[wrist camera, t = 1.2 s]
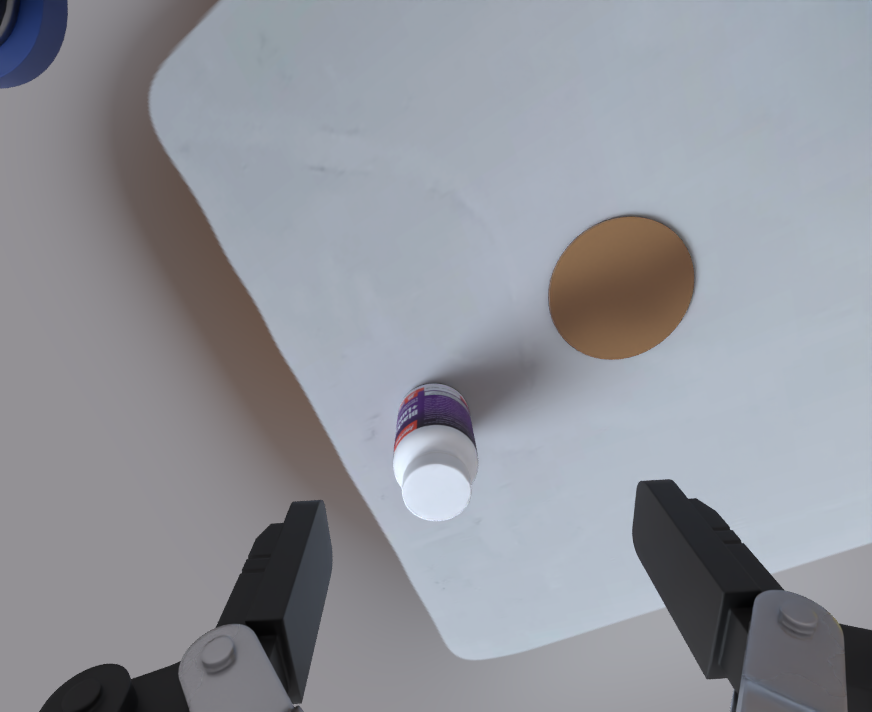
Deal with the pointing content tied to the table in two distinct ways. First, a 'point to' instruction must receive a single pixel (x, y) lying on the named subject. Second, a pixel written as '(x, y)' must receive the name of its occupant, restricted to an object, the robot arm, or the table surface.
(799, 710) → the robot arm
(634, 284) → the coaster
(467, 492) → the pill bottle
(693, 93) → the table surface
